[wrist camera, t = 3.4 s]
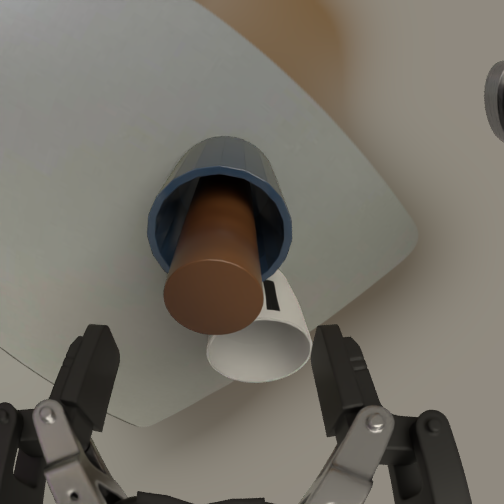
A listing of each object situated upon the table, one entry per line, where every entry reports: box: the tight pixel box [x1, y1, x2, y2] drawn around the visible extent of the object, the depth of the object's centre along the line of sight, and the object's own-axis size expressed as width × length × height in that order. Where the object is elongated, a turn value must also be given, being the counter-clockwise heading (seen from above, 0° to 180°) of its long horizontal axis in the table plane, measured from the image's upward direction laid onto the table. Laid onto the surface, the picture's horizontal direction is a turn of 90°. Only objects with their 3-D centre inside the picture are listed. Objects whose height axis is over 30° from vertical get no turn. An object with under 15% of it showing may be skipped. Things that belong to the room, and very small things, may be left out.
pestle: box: [164, 174, 264, 335], centre depth 19 cm, size 4×4×14 cm
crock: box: [147, 136, 292, 282], centre depth 21 cm, size 9×9×9 cm
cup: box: [206, 269, 313, 383], centre depth 26 cm, size 8×8×10 cm
